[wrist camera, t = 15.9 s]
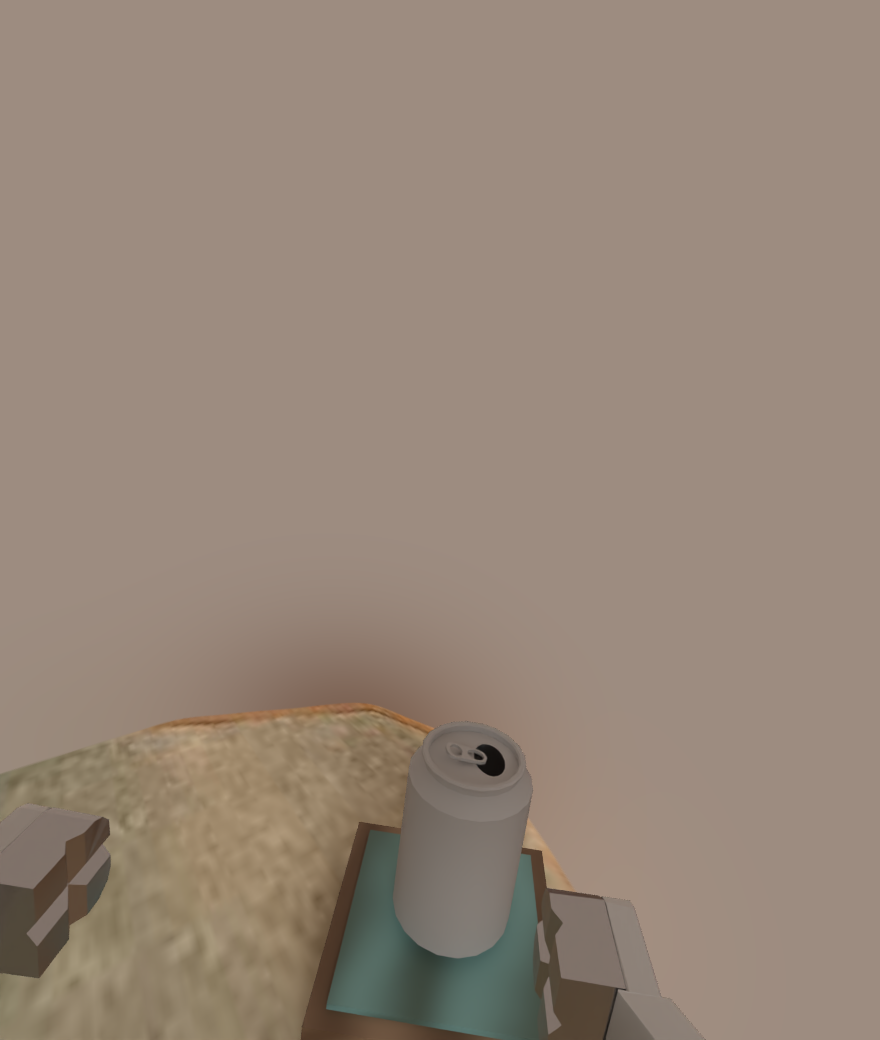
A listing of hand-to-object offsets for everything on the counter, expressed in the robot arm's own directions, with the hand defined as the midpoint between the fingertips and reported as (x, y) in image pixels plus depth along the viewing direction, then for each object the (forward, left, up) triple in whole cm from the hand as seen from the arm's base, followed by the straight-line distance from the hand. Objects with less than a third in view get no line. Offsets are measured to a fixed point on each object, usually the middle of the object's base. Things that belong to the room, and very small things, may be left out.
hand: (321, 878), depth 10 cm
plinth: (+4, +20, -28) cm, 35 cm away
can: (+4, +21, -24) cm, 32 cm away
